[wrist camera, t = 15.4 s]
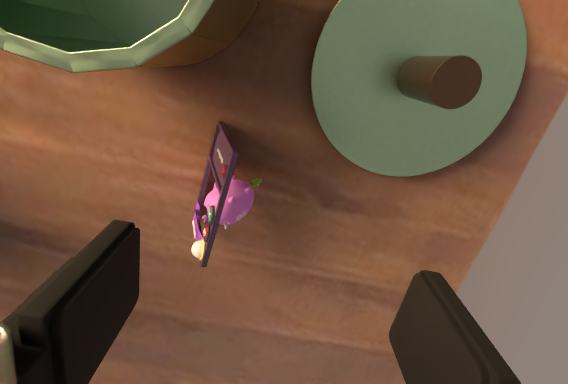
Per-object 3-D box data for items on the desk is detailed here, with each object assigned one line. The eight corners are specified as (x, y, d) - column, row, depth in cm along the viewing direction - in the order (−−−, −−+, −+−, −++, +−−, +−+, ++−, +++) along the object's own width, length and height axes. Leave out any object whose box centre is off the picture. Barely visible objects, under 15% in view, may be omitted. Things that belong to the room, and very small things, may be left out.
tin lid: (283, 140, 25) (283, 167, 19) (357, -85, 19) (391, -151, 13) (449, 193, 27) (497, 233, 21) (561, 1, 21) (672, -22, 15)
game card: (221, 148, 18) (189, 267, 22) (298, 164, 21) (259, 270, 24) (208, 117, 24) (184, 216, 27) (270, 132, 26) (241, 222, 30)
